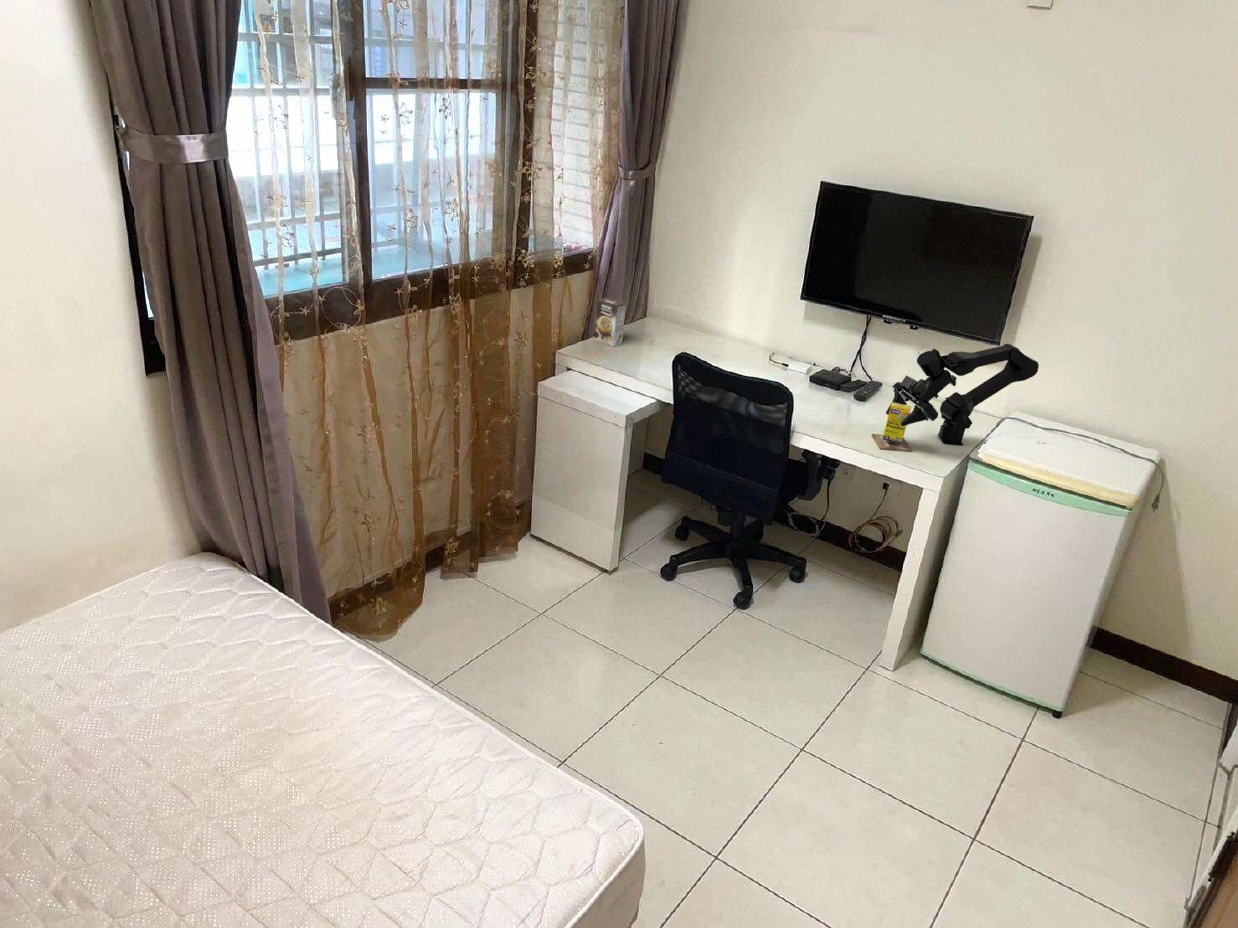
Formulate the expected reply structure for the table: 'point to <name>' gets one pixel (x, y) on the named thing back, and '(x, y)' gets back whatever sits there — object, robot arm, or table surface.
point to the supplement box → (896, 422)
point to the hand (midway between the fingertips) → (893, 419)
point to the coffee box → (610, 321)
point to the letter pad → (890, 444)
